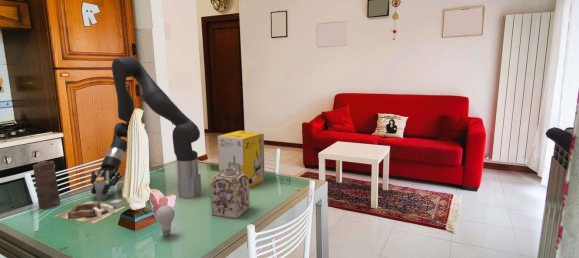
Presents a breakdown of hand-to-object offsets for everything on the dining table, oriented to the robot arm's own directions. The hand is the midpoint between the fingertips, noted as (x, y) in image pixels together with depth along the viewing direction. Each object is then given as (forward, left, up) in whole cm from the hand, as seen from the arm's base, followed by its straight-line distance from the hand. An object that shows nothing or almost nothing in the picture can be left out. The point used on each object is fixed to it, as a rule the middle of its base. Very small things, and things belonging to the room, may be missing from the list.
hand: (98, 193), depth 148 cm
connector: (0, -2, -4) cm, 5 cm away
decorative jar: (-60, -8, -4) cm, 60 cm away
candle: (+15, +11, -4) cm, 19 cm away
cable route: (-13, +9, -3) cm, 16 cm away
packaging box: (-49, -42, -4) cm, 65 cm away
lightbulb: (-48, +17, -4) cm, 51 cm away
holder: (-6, +12, -3) cm, 14 cm away
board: (-7, +10, -4) cm, 13 cm away
